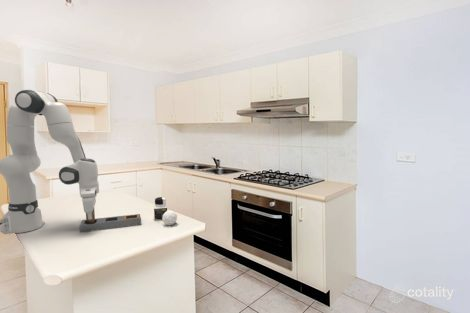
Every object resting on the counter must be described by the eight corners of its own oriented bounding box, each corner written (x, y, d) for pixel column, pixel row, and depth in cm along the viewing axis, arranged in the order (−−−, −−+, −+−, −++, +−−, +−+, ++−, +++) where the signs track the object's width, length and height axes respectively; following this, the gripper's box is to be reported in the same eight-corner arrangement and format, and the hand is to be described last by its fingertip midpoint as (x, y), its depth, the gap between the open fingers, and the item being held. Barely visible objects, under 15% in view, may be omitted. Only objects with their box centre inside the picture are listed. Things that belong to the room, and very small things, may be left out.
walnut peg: (84, 228, 148) (83, 205, 146) (92, 226, 151) (90, 204, 150) (89, 230, 146) (88, 206, 144) (96, 227, 149) (95, 205, 148)
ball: (169, 228, 156) (172, 214, 160) (178, 226, 151) (181, 211, 155) (157, 224, 152) (161, 209, 156) (166, 221, 147) (169, 207, 151)
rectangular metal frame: (80, 232, 142) (79, 224, 142) (82, 226, 151) (81, 219, 150) (141, 224, 153) (140, 218, 153) (140, 220, 161) (139, 213, 161)
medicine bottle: (154, 220, 160) (153, 199, 159) (154, 216, 167) (153, 196, 166) (167, 219, 162) (166, 198, 161) (166, 215, 169) (166, 196, 168)
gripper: (84, 186, 155) (86, 211, 156) (79, 194, 136) (81, 223, 137) (97, 185, 157) (99, 210, 159) (94, 193, 138) (96, 221, 140)
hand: (91, 216), depth 148 cm, fingers open, 8 cm apart
